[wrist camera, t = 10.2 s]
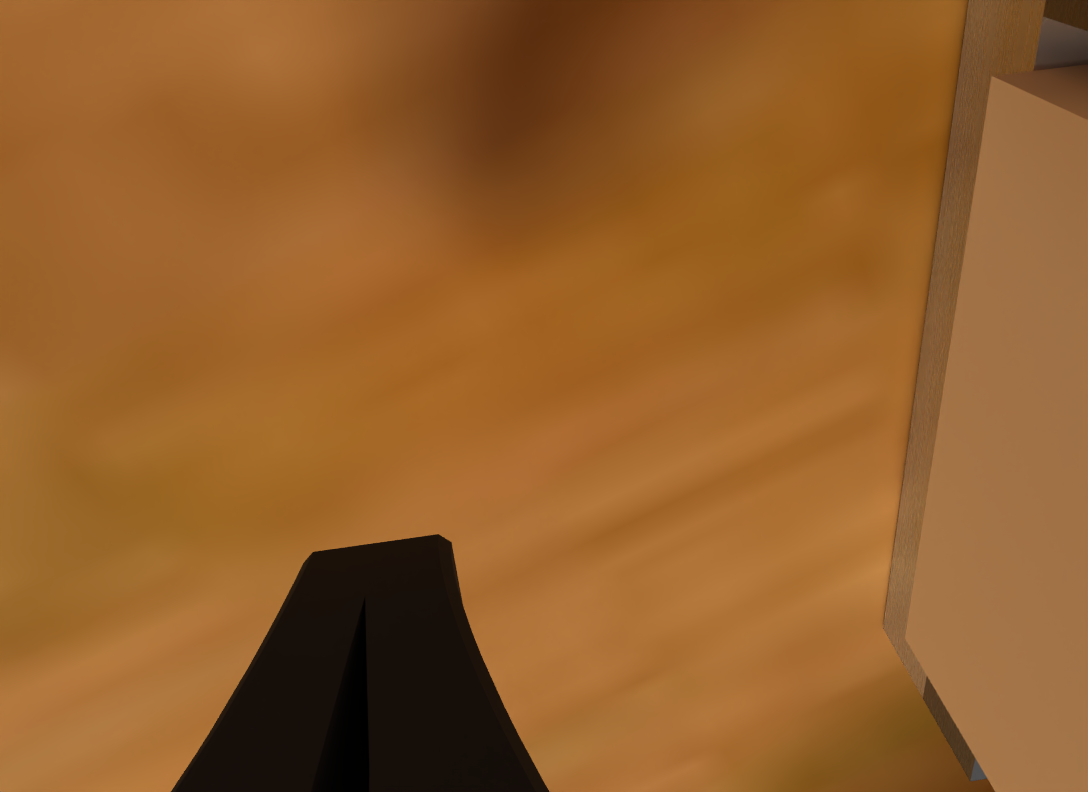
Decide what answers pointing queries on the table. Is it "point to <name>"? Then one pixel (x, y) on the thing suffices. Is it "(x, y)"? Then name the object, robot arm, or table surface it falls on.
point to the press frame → (988, 49)
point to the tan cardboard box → (1016, 452)
